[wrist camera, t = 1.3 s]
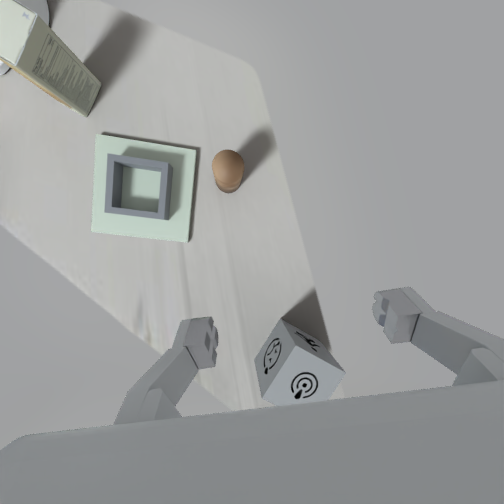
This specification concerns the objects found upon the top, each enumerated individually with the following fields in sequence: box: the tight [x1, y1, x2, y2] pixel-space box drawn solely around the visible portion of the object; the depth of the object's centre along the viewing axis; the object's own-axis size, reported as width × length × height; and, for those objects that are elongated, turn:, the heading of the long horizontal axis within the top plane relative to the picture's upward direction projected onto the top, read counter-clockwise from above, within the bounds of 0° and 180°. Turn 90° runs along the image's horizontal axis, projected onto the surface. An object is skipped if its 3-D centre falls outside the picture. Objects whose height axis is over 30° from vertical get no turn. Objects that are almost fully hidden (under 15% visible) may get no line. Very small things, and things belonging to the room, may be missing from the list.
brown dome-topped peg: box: [212, 150, 244, 193], centre depth 35 cm, size 4×4×9 cm
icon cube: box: [254, 319, 346, 406], centre depth 39 cm, size 10×10×10 cm
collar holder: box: [91, 134, 197, 242], centre depth 36 cm, size 16×16×4 cm
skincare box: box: [0, 0, 101, 117], centre depth 29 cm, size 6×4×12 cm
